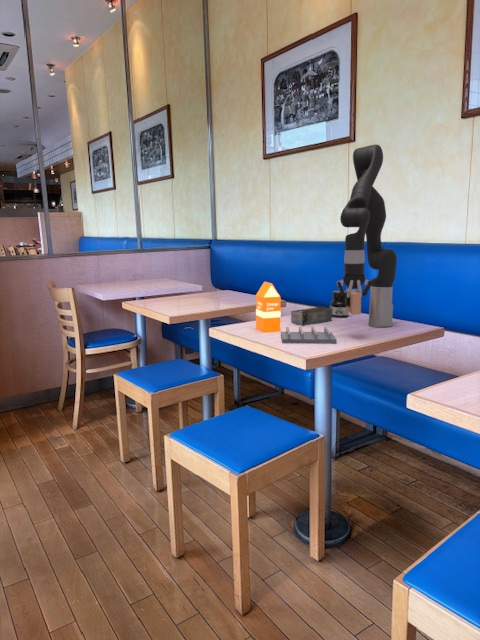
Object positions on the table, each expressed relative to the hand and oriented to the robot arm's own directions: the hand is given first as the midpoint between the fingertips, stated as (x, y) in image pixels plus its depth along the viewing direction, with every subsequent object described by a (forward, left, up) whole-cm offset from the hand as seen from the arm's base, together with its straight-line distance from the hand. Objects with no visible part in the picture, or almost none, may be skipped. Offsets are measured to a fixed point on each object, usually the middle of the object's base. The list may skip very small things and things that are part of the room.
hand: (353, 306), depth 186 cm
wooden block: (0, 0, -2) cm, 2 cm away
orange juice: (+33, -13, -12) cm, 38 cm away
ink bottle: (-2, -45, -12) cm, 47 cm away
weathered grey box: (+13, -30, -13) cm, 35 cm away
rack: (+18, +4, -12) cm, 22 cm away
